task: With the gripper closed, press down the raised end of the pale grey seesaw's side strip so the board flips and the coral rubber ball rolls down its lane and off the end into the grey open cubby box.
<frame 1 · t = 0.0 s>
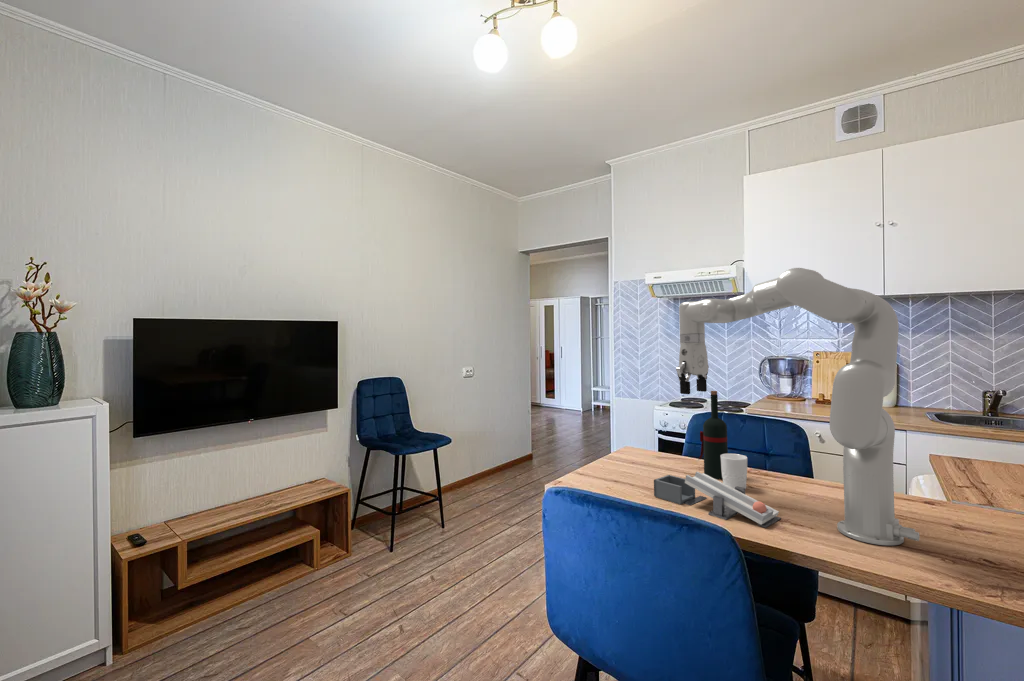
hand: (693, 392, 144), 31 cm above the table, tool pointing down, fingers open, 9 cm apart
grey open cubby box: (674, 497, 136), on the table
white cup: (734, 487, 145), on the table
stand: (730, 510, 125), on the table
seesaw: (730, 494, 125), point 5 cm above the table, hinge at -15.0°, touching ball
ball: (759, 507, 117), point 4 cm above the table, tilted 21°, touching seesaw
wine bottle: (713, 475, 158), on the table
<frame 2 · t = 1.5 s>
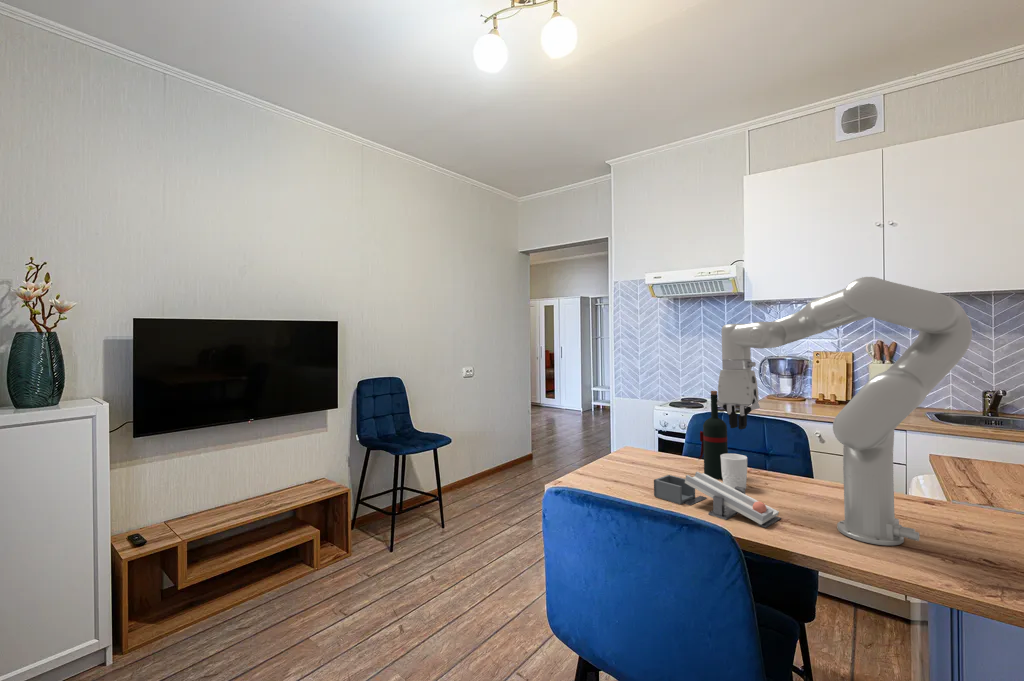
hand: (738, 427, 131), 22 cm above the table, tool pointing down, fingers closed
nothing on the table moved.
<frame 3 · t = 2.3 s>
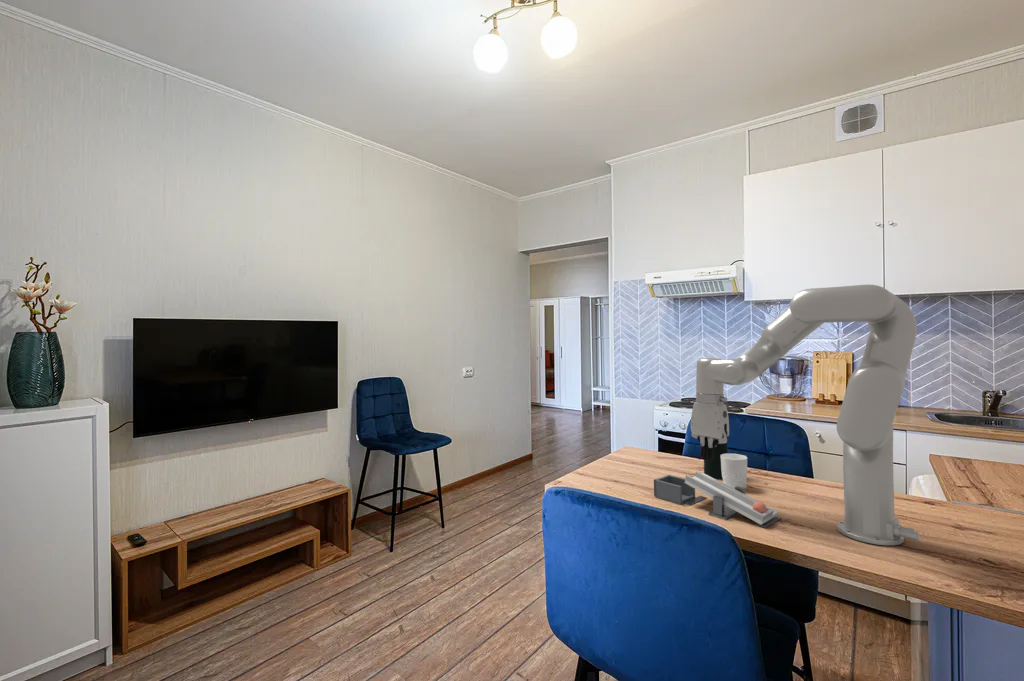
hand: (708, 459, 134), 12 cm above the table, tool pointing down, fingers closed
nothing on the table moved.
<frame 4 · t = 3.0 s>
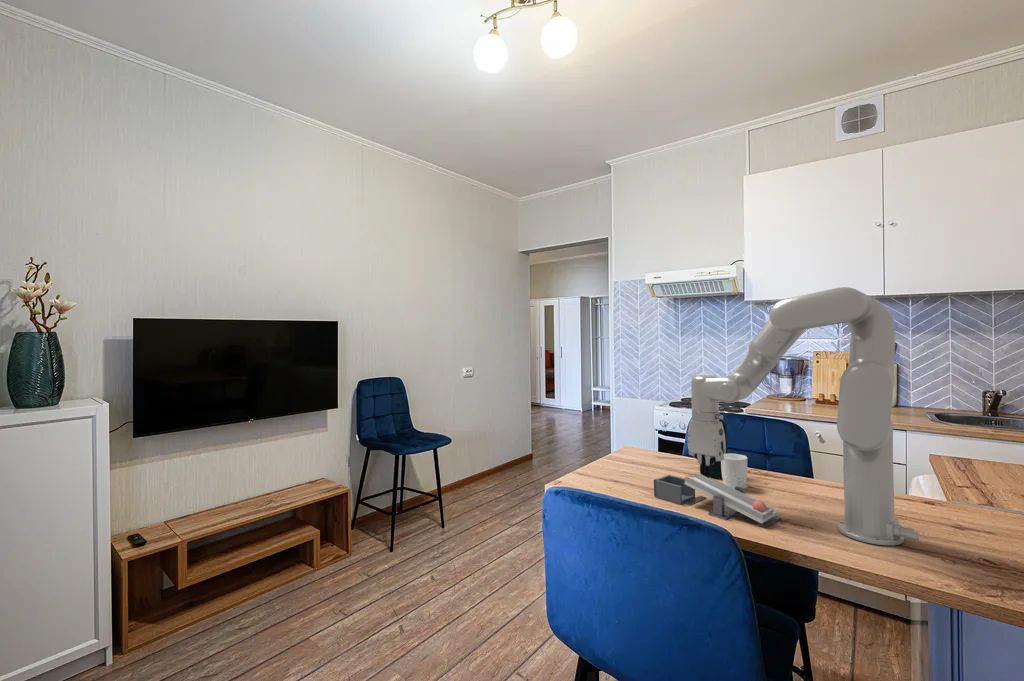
hand: (706, 477, 134), 7 cm above the table, tool pointing down, fingers closed
seesaw: (730, 494, 125), point 5 cm above the table, hinge at -13.2°, touching ball, gripper
everything else where it was.
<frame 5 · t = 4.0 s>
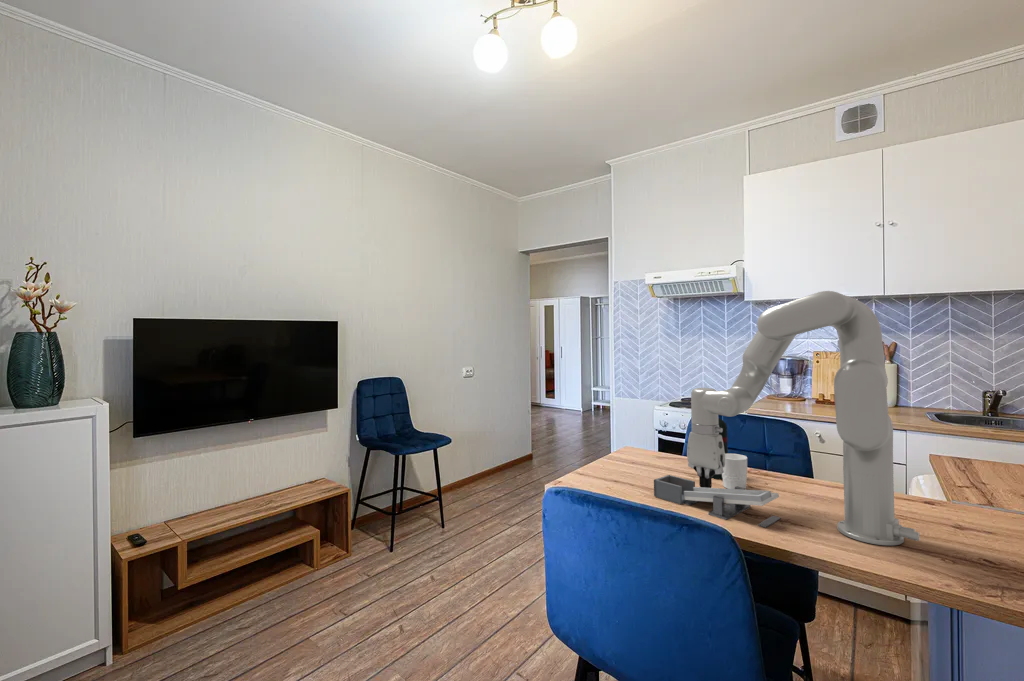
hand: (705, 489, 134), 3 cm above the table, tool pointing down, fingers closed
seesaw: (729, 494, 125), point 5 cm above the table, hinge at 11.0°, touching gripper
ball: (671, 490, 137), point 2 cm above the table, tilted 159°, touching grey open cubby box
everything else where it was.
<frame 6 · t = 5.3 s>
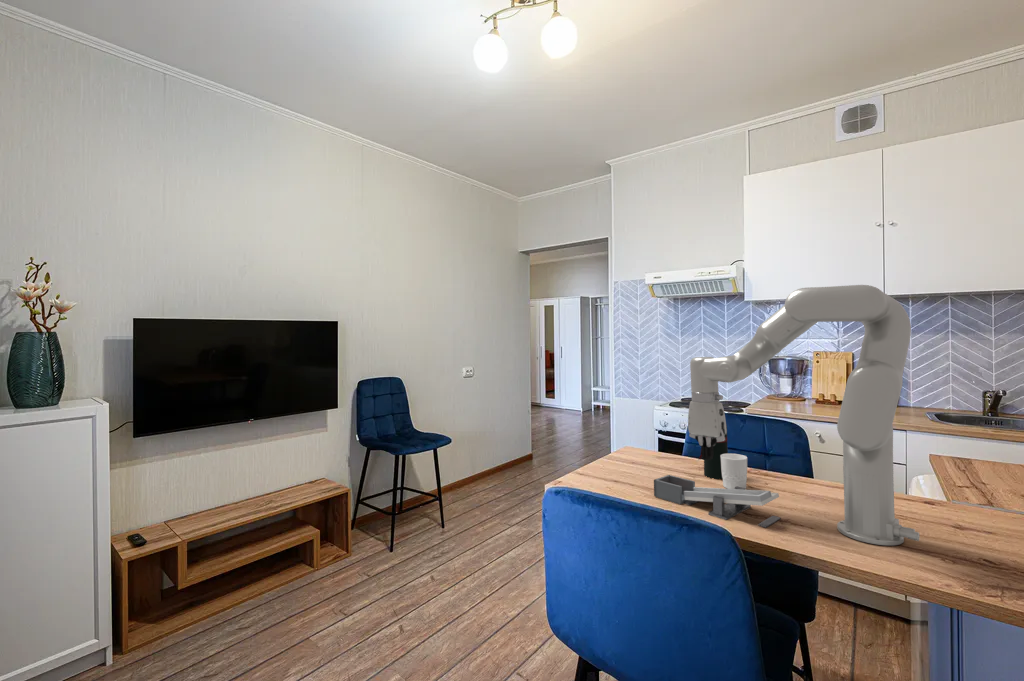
hand: (707, 458, 134), 12 cm above the table, tool pointing down, fingers closed
seesaw: (729, 494, 125), point 5 cm above the table, hinge at 11.1°
ball: (674, 491, 136), point 2 cm above the table, tilted 114°, touching grey open cubby box
everything else where it was.
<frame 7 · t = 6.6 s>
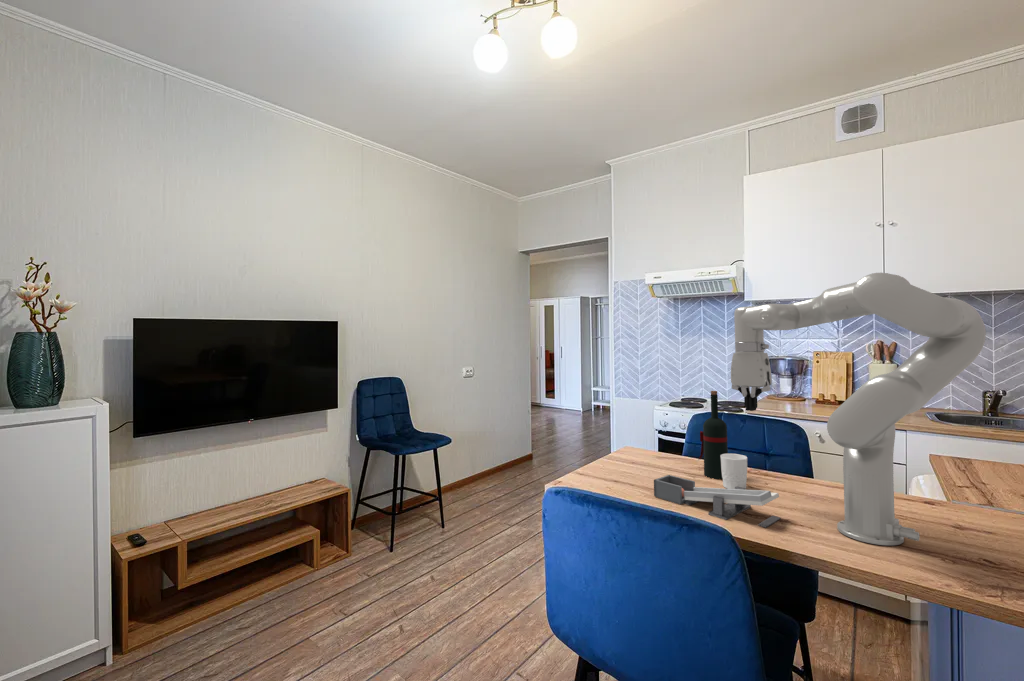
hand: (751, 410, 132), 27 cm above the table, tool pointing down, fingers closed
ball: (679, 492, 135), point 2 cm above the table, tilted 173°, touching grey open cubby box
everything else where it was.
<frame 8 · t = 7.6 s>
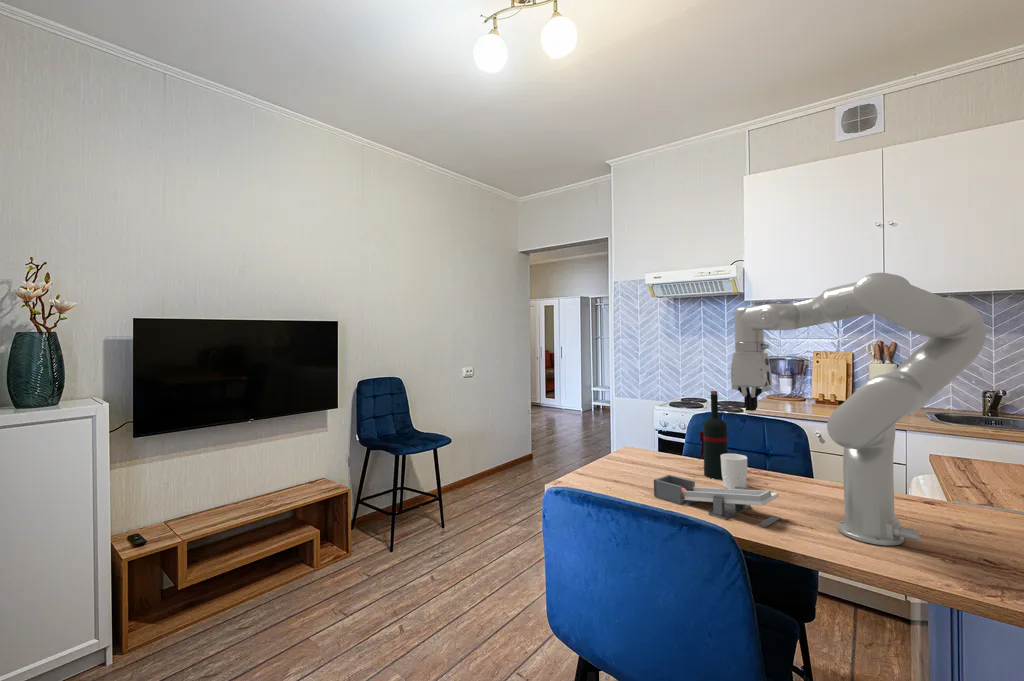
hand: (751, 410, 132), 27 cm above the table, tool pointing down, fingers closed
ball: (682, 493, 134), point 2 cm above the table, tilted 157°, touching grey open cubby box
everything else where it was.
at the end: ball inside the target area on the grey open cubby box (2.3 cm from its centre), point 2.0 cm above the grey open cubby box's base; ball touching grey open cubby box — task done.
